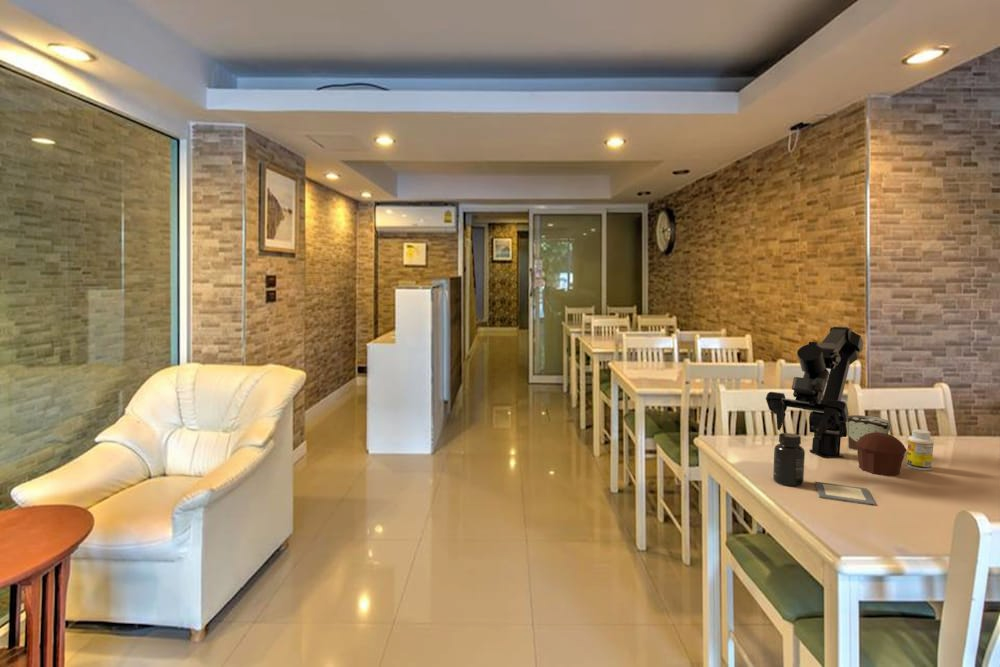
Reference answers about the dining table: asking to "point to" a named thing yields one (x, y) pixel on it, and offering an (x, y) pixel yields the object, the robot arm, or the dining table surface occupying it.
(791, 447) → the supplement bottle
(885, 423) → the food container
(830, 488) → the foundation tile
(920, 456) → the supplement bottle
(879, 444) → the muffin
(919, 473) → the dining table surface
